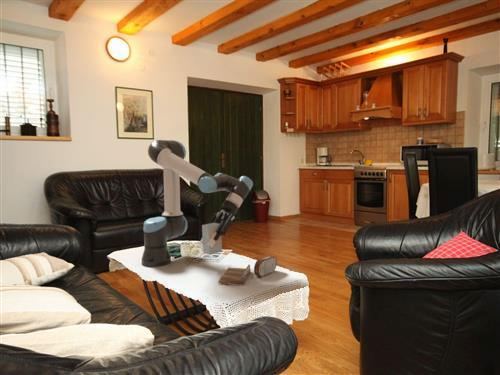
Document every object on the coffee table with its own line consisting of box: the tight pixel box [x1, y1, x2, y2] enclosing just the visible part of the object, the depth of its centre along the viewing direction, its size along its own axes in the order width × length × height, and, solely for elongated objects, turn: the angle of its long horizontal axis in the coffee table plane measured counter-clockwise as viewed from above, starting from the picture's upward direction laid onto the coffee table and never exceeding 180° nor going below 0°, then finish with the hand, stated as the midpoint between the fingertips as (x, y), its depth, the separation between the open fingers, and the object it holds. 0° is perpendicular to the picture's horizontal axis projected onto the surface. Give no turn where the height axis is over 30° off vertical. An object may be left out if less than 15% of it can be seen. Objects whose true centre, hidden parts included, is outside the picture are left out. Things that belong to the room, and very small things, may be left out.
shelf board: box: [218, 267, 251, 286], centre depth 163 cm, size 18×11×2 cm, turn 170°
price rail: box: [241, 264, 251, 282], centre depth 162 cm, size 18×1×2 cm, turn 170°
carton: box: [201, 223, 223, 256], centre depth 163 cm, size 5×7×13 cm
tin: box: [253, 254, 278, 278], centre depth 166 cm, size 15×3×8 cm, turn 140°
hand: (205, 244), depth 161 cm, fingers closed on carton, 5 cm apart
